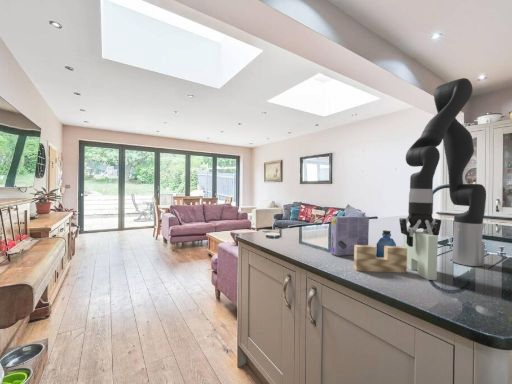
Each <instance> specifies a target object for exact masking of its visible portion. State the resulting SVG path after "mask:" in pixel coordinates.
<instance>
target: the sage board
mask: <svg viewBox="0 0 512 384" xmlns="http://www.w3.org/2000/svg"><path fill="white" fill-rule="evenodd" d="M407 230H408V227H407ZM412 237H413V247H410V246H408V244H407V236H406V235H405V234H403V247H405V248H407V269H409V270H410V271H417V272H416V273H417V275H419V276H420V277H422V278H424V279H425V280H428V281H430V280H431V281H437V276H438V275H437V274H438V272H437V271H438V269H437V268H438V246H439V243H438V242H439V241H438V240H439V235H438V236H436V235H432V234H429V233H426V232H425V231H424V230H423V231H422V230H420V229H417V230H416V231H415V232H414V234H413V236H412Z"/></svg>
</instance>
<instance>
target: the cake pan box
mask: <svg viewBox="0 0 512 384" xmlns="http://www.w3.org/2000/svg"><path fill="white" fill-rule="evenodd" d="M330 223H331V226H330V232H331V233H330V254H331V255H334V256H336V257H339V256H340V257H342V256H354V245H369V230H370V229H369V228H370V225H369V224H370V217H369V216H363V215H362V216H359V215H358V216H352V215H351V216H349V215H346V216H344V215H343V216H341V215H340V216H337V215H336V216H335V215H334V216H331V222H330Z"/></svg>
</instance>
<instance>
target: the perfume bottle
mask: <svg viewBox="0 0 512 384" xmlns="http://www.w3.org/2000/svg"><path fill="white" fill-rule="evenodd" d="M381 236H382V237H380V238H379V240H378V241H377V242H376V257H382V258H384V246H397V244H396V242H395V240H394V238H391V237H392V233H391V230H382V233H381Z"/></svg>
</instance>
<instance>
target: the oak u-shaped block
mask: <svg viewBox="0 0 512 384" xmlns="http://www.w3.org/2000/svg"><path fill="white" fill-rule="evenodd" d="M376 248H377V246H374V245H369V244H368V245H354V255H353V269H354V270H355V271H356V272H357V271H358V272H377V273H378V272H380V273H382V272H383V273H402V272H403V273H404V274H406V273H407V269H408V268H407V248H405V247H404V245H403V246H398V245H396V246H384V258H382V257H376Z"/></svg>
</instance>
